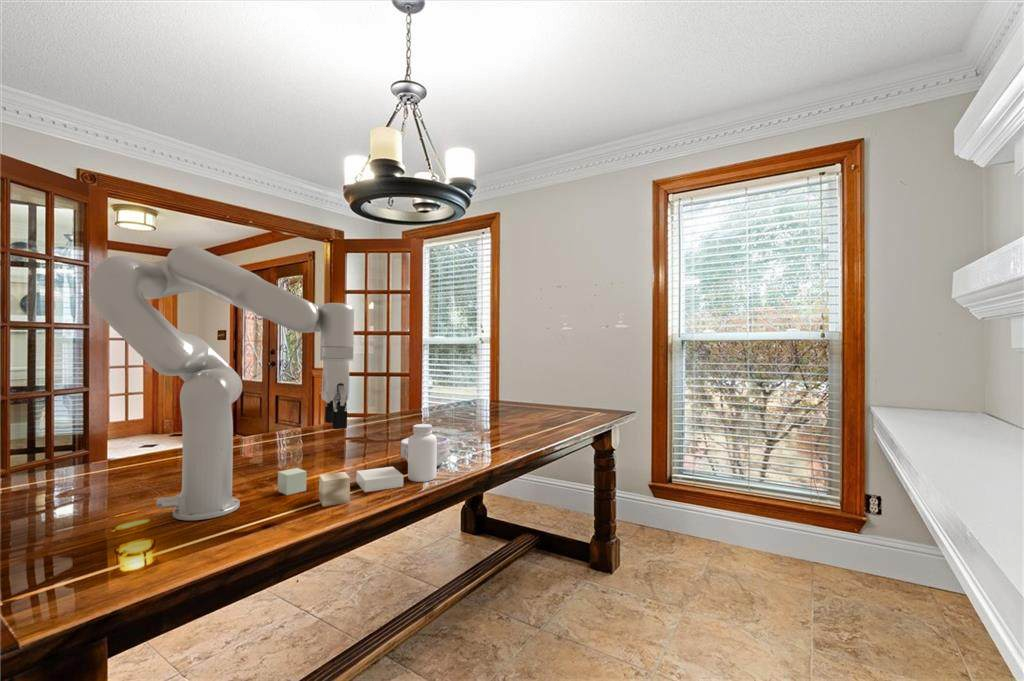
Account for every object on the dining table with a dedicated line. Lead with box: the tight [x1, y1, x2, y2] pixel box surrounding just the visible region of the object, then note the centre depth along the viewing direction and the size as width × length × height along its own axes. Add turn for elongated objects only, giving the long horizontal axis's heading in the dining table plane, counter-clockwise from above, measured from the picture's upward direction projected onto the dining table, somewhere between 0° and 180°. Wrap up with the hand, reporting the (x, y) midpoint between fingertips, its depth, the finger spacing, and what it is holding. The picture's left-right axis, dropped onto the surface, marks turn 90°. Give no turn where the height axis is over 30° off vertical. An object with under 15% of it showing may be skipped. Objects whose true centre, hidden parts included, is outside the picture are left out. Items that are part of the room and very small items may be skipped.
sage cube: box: [277, 467, 308, 496], centre depth 121 cm, size 5×5×5 cm
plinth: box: [355, 466, 404, 493], centre depth 128 cm, size 10×10×3 cm
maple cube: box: [318, 471, 351, 508], centre depth 114 cm, size 6×6×6 cm
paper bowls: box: [400, 435, 451, 467], centre depth 149 cm, size 15×15×8 cm
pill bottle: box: [407, 423, 438, 483], centre depth 134 cm, size 8×8×15 cm
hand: (335, 425), depth 114 cm, fingers open, 9 cm apart
